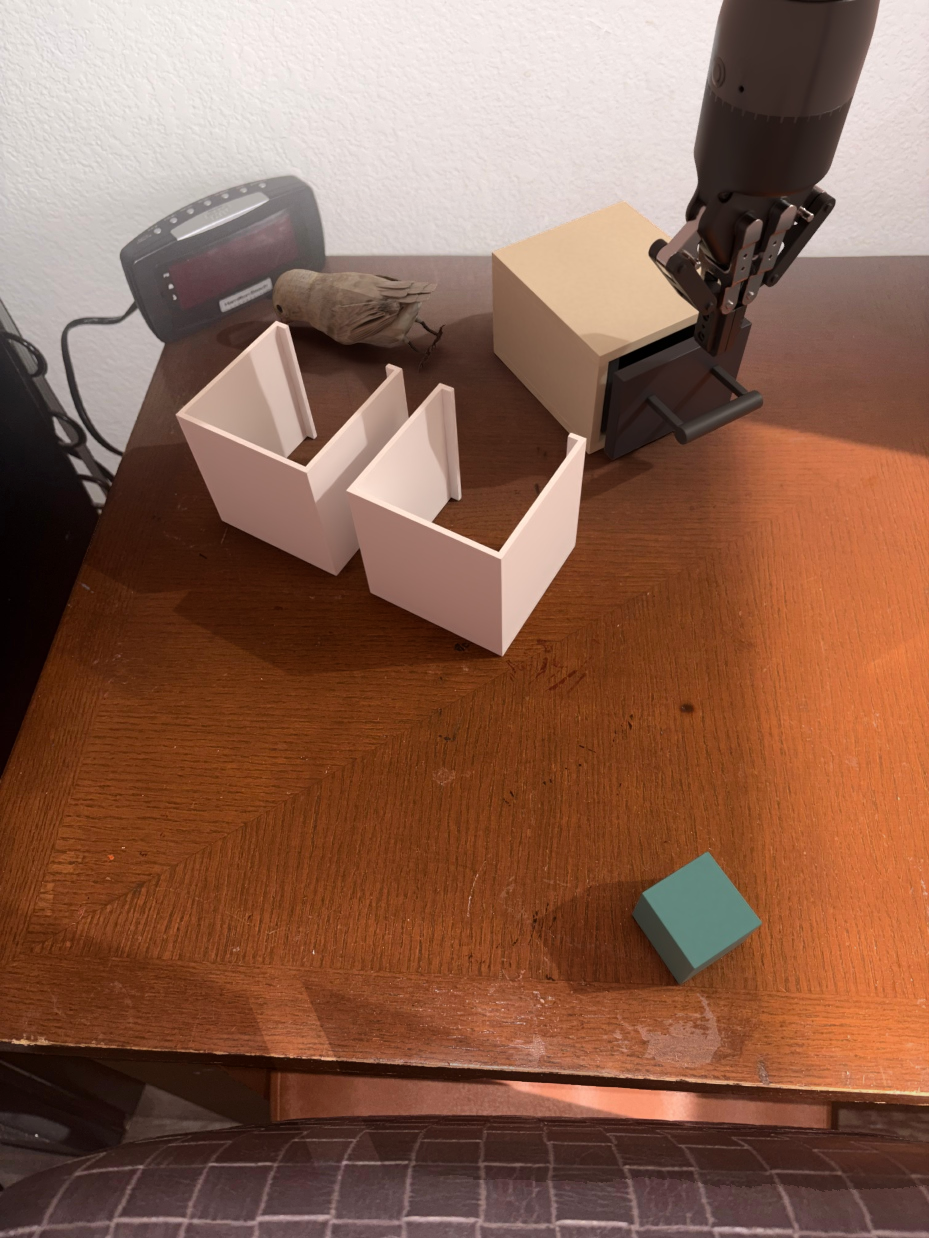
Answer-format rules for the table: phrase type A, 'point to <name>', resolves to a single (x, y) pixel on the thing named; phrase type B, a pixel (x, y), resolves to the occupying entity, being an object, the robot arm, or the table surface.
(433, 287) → the decorative bird
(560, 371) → the beige hollow box
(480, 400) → the table surface
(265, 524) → the white desk organizer
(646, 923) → the block
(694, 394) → the drawer
